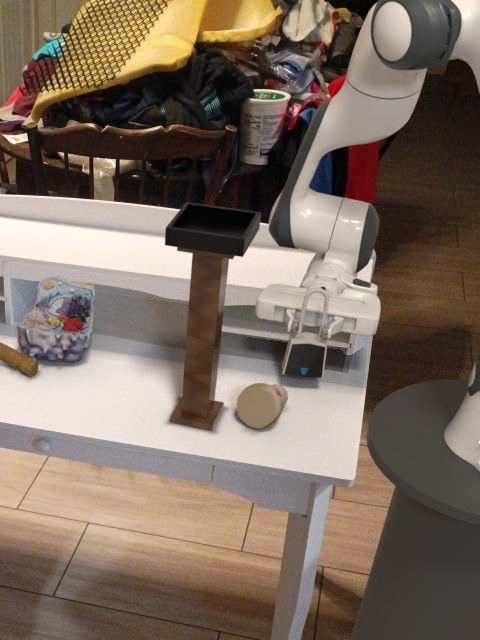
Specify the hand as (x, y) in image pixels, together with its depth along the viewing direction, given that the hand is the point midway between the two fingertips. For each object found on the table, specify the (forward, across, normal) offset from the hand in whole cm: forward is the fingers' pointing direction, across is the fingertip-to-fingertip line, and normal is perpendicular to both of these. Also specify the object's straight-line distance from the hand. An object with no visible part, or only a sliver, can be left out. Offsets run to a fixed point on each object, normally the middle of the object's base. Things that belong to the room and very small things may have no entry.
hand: (309, 331), depth 137 cm
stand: (+13, -14, +11) cm, 22 cm away
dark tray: (+13, -14, -19) cm, 27 cm away
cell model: (-9, -47, +6) cm, 48 cm away
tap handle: (+12, -44, +10) cm, 46 cm away
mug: (+9, -4, +11) cm, 15 cm away
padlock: (-1, 0, +8) cm, 8 cm away
